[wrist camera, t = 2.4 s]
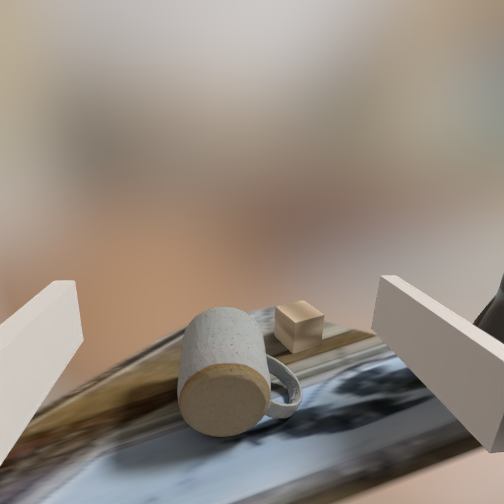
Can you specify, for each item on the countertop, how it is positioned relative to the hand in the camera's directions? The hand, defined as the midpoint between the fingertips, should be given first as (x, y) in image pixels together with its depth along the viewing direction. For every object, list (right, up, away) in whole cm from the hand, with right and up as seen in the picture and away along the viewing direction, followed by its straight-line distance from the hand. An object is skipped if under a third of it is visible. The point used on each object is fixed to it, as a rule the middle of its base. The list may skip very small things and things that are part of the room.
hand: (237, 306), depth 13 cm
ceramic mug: (-1, -11, +14) cm, 18 cm away
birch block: (+6, -8, +23) cm, 25 cm away
